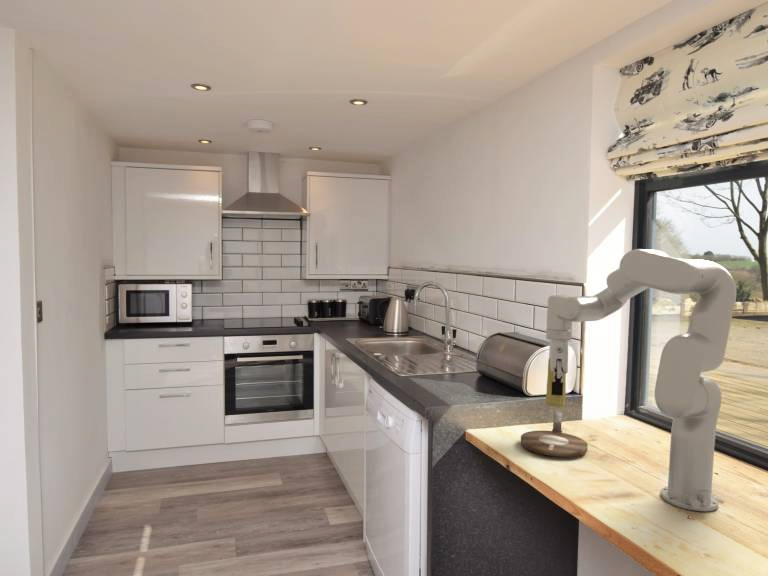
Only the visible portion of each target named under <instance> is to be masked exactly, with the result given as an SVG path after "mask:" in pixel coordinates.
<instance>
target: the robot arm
mask: <svg viewBox="0 0 768 576" xmlns="http://www.w3.org/2000/svg"><path fill="white" fill-rule="evenodd" d="M618 267H619V268H617V269H615V270H614V271H612V272H611V273H609V274H608V275H607V277H606V285H607V287H606V288H605V289H603V290H602V291H600V292H598V293H596V294H594V295H590V296H589V295H588V296H587V295H586V296H585V295H583V296H571V295H566V294H565V295H563V294H552V295H549V297H548V298H547V312H546V313H547V314H546V328H545V329H546V332H545V334H546V335H545V340H547V341H549V348H548V352H549V353H548V359H549V358H550V368H551V371H552V372H553V382H552V392H551V393H552V395H559V396H562V395H563V371H564V372H565V373H566V374H568V372H569V342H571V341H572V334H573V333H572V332H573V329H572V328H573V323H581V322H584V323H585V322H596V321H600V320H602V319H604V318H607V317H608V316H610V315H612V314H614V313H615V312H618V311H619V310H620V309H621V308H623V307H624V306H625V304H626V303H627V302H628V300H630V299H632V298H633V297H635V296H637V295H638V294H640V293H642V292H644V291H646V290H648V289H650V288H651V289H655V290H658V291H662V292H664V293H669V294H672V295H697V300H696V302H695V304H694V306H693V308H692V311H691V313H690V319H689V324H688V329H687V331H686V333H682V334H681V333H680V334H677V335H674V336H673V337H671V338H669V340H668V341H667V342H666V343H665V345H664V347H663V348H662V350H661V356H660V358H659V359H660V360H659V366H658V370H657V376H656V381H655V385H654V386H655V387H654V401H655V404H656V407H657V409H659V411H660V412H661V413H662V414H663V415H664V416H666V417H669V418H672V423H671V429H670V430H671V432H670V445H669V446H670V447H669V462H668V477H667V478H668V480H667V486H664V487H662V488H661V489H660V497H661V498H662V499H663V500H664V501H665V502H667V503H668V504H671V505H673V506H675V507H677V508H681V509H686V510H688V511H695V512H712V511H715V510H717V509H718V508H719V501H718V500H717V498H716V497H714V496H713V495H712V491H713V490H712V487H713V472H714V458H715V446H716V445H715V444H716V434H717V433H716V432H717V424H718V418H719V415H720V410H721V405H722V392H721V389H720V387H719V385H718V383H717V382H715V381H714V379H712V378H711V377H709V376H707V375H703V374H701V373H706V372H711V371H714V370H717V369H718V368H719V367H721V365H722V364H723V362H724V360H725V355H726V349H727V344H728V340H729V334H730V329H731V322H732V318H733V314H734V310H735V306H736V300H737V285H736V282H735V280H734V278H733V276H732V274H731V273H730V271H728V270H727V269H726V268H725V267H724V266H722V265H720V264H718V263H716V262H714V261H711V260H705V259H699V258H695V259H691V258H689V259H688V258H677V257H671V256H669V255H668V254H667V253H666V252H664V251H662V250H658V249H649V248H646V249H643V248H635V249H631V250H630V251H629V250H628V252H626V253H625V254H624V255H622V257H621V259H620V261H619V266H618ZM556 363H557V365H556ZM555 370H557V372H555ZM555 374H557V375H555Z"/></svg>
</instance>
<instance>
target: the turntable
mask: <svg viewBox="0 0 768 576" xmlns="http://www.w3.org/2000/svg"><path fill="white" fill-rule="evenodd" d="M562 419H563V412H561V411H554V412H553V424H552V430H531V431H526V432H524V433H523V434H521V435H520V445H521V446H522V447H524V448H525V449H526V450H529V451H532V452H534V453H537V454H542V455H545V456H550V457H552V456H553V457H559V458H560V457H561V458H562V457H563V458H570V457H579V456H583V455H584V454H586V453H588V446H589V445H588V443H587V441H585V439H583V438H581V437H578V436H576V435H573V434H569V433H566V432H563V430H562V422H563V421H562Z"/></svg>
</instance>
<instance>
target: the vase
mask: <svg viewBox="0 0 768 576" xmlns="http://www.w3.org/2000/svg"><path fill="white" fill-rule="evenodd" d="M547 361H548V363H547V376H546V377H547V379H546V394H545V401H544V403H545V404H546V405H548V406H552V407H559V408H560V407H564V406H566V392H567V391H566V390H567V389H566V381H567V378H566V377H567V375H566V374H567V373H565V372H564V371H563V395H562V396H559V395H552V393H551V392H552V382H553V372H552V371H551V368H550V358H549V357H548V360H547ZM556 365H557V363H556ZM555 372H557V370H555ZM555 375H557V374H555Z"/></svg>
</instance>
